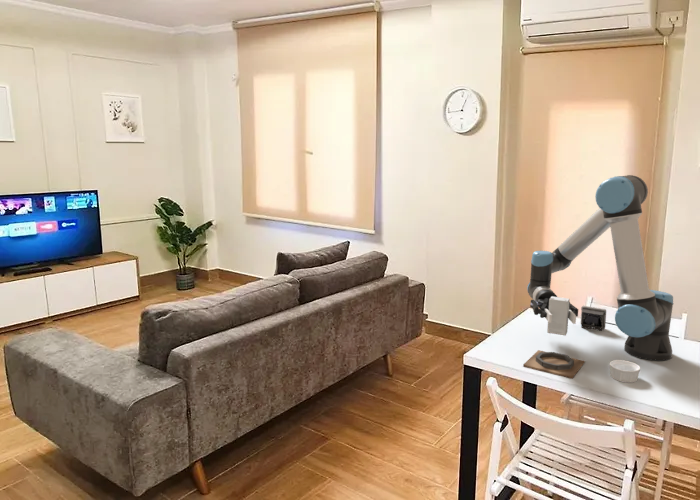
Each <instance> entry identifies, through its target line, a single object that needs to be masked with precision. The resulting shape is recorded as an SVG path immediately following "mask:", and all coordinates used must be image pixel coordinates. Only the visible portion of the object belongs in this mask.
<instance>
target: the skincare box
mask: <svg viewBox="0 0 700 500" xmlns="http://www.w3.org/2000/svg"><path fill="white" fill-rule="evenodd" d="M569 302H570V298H566V297H558V296H557V297H553V296H551V298H550V299H549V312H550V313H551V314H552V321H551V323H549V322H548V321H547V333H548V334H554V335H560V336H567V333H568V329H569V328H568V326H569V318H568V315H569Z"/></svg>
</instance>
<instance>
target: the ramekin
mask: <svg viewBox="0 0 700 500" xmlns="http://www.w3.org/2000/svg"><path fill="white" fill-rule="evenodd" d="M640 371H641V366H640V365H639V364H638V363H635V362H633V361H628V360H624V359H622V360H621V359H614V360H612V361H610V362H609V375H610V377H611V378H612V379H614V380H615V381H618V382H622V383H628V384H629V383H635V382H637V381H638V379H639V373H640Z"/></svg>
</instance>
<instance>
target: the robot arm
mask: <svg viewBox="0 0 700 500" xmlns="http://www.w3.org/2000/svg"><path fill="white" fill-rule="evenodd" d="M648 190H649V189H648V186H647V183H646V182H645V181H644V180H643V179H642V178H641V177H639V176H638V175H637V176H636V175H632V174H627V175H618V176H613V177H610V178H607V179H605V180H603V181H602V182H601V183H600V184H599V185H598V187H597V188H596V192H595V202H596V205H597V206H598V209H597V210H596V211H595V212H594V213H593V214H592V215H590V217H588V218H587V219H586V220H585V221H584V222H582V224H581V225H580V226H579V227H577V229H576V230H575V231H574V232H573V233H571V235H569V236H568V237H567V238H566V239H565V240H564V241H562V243H561V244H560V245H559V246H558V247H557V248H555V249H554V250H553V251H552V252H551V251H547V250H535V251H533V253H532V256H531V259H530V264H531V266H530V278H529V279H530V280H529V283H528V285H527V287H526V289H527V293H528V296H529V297H530V298H531V299H530V304H529V305H530V308H531V309H532V311H533V314H534V315H536V316H538V315H539V317H540V318H542V319H546V321H547V323H548V322H549V323H551V321H552V314H551V313H550V312H549V299H550V298H551V296H553V297H558V295H556V292H554V291H553V290H552V289H551V285H552V274H554V273H557V272H560V271H564V270H566V269H567V268H569V267H570V266H571V264H572V262H573V261H574V260H575V259H577V257H578V256H580V254H581V253H583V252H584V251H585V250H586V249H587V248H588V247H590V246H591V245H592V244H593V243H594V242H595V241H596V240H597V239H599V238H600V237H601V236H602V235H603V234H605V232H607V230H609V229H610V233H611V239H612V245H613V252H614V257H615V265H616V271H617V278H618V285H619V290H620V292H619V294H618V295H617V296H616V301H617V310H616V311H615V315H614V321H615V324H616V327H617V328H618V329H619V331H620V332H622V333H623V334H624V335H626V336H627V338H626V340H625V342H624V347H623V348H624V349H623V350H624V351H625V352H626V353H628V354H629V355H631V356H633V357H636V358H638V359H639V358H640V359H643V360H648V361H657V362H658V361H662V362H663V361H668V360H671V359H672V357H673V348H672V344H671V340H670V330H671V329H670V328H671V321H672V314H673V306H674V296H673V295H672V294H671V293H669V292H664V291H661V290H656V289H655V290H654V289H650V286H649V281H648V274H647V269H646V261H645V255H644V249H643V242H642V236H641V232H640V231H641V230H640V223H639V218H640V217H641V216H642V214H643V210H642V204H644V203H645V201H646V199H647V198H648V193H649V192H648ZM577 317H579V308H577V307H576V306H575V305H573V304H572V303H571V302H570V301H569V315H568V321H570V322H571V323H572V324H573V325H576V324H577V323H576V321H577Z"/></svg>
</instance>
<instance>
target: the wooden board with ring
mask: <svg viewBox="0 0 700 500" xmlns="http://www.w3.org/2000/svg"><path fill="white" fill-rule="evenodd" d="M585 363H586V361H585V360H583V359H578V358H574V357H570V356H568V355H567V354H564V353H561V352H555V351H543V350H539V349H538V350H537V351H535V353H533V355H532V356H531V357H529V358H528V359H527V360H526V362H524V363H523V367H525V368H529V369H533V370H537V371H541V372H544V373H549V374H553V375H557V376H561V377H564V378H569V379H574V378H575V376H576V374H577V373H578V372H579V371H580V369H581V368H582V367H583V366H584V365H585Z"/></svg>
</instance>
